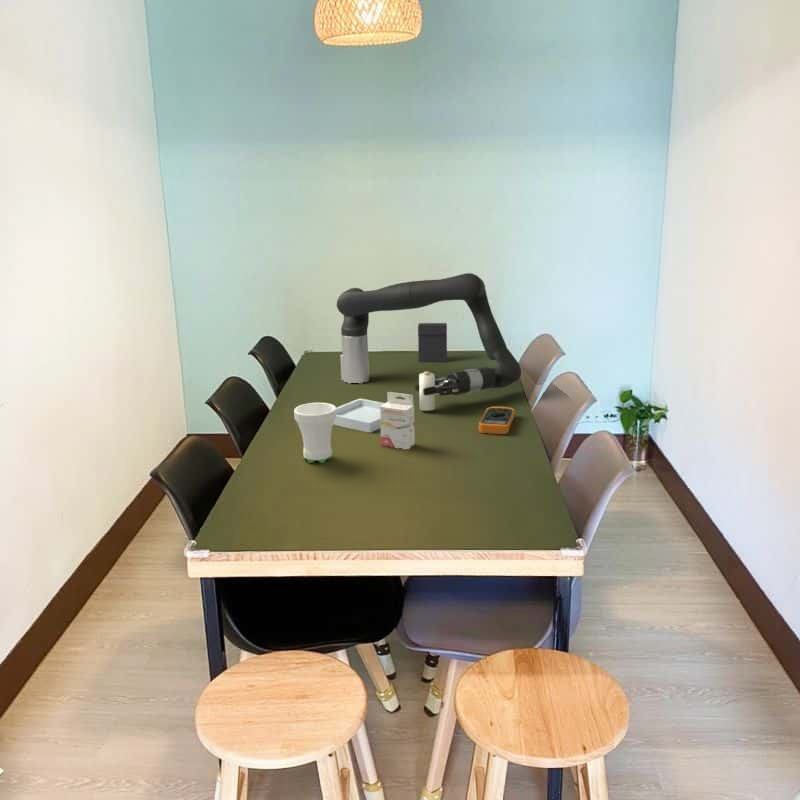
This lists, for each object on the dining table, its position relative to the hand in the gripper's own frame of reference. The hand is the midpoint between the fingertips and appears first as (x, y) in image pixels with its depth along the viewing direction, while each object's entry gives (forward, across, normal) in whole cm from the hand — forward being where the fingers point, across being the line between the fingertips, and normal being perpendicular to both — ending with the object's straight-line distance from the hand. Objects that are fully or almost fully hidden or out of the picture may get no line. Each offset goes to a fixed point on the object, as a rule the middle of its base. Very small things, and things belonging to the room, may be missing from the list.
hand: (419, 389), depth 246 cm
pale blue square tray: (+18, -4, +8) cm, 19 cm away
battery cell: (-3, 0, +6) cm, 7 cm away
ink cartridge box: (+20, +22, +8) cm, 31 cm away
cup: (+43, +20, +8) cm, 48 cm away
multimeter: (-14, +23, +8) cm, 28 cm away
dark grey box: (-37, -54, +8) cm, 66 cm away
